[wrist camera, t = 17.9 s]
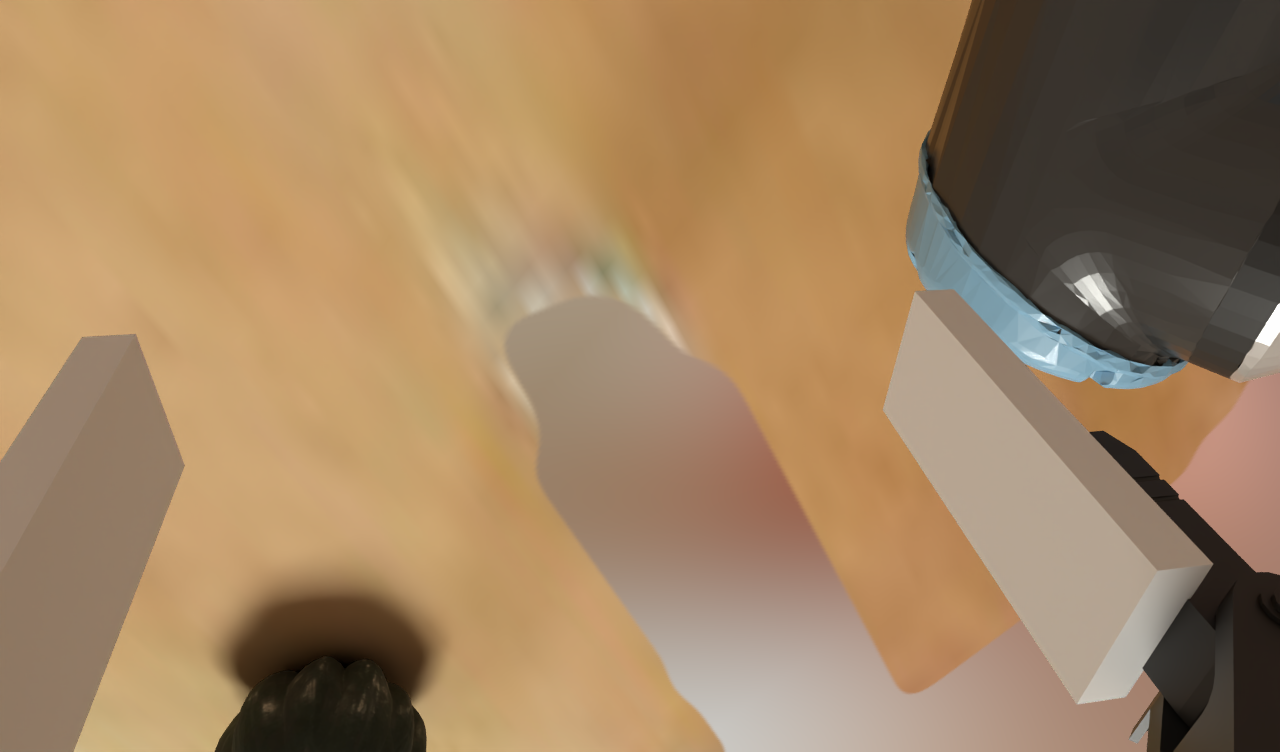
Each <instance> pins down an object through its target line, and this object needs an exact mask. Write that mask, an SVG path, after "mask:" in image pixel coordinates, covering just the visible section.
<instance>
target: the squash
mask: <svg viewBox="0 0 1280 752" xmlns="http://www.w3.org/2000/svg"><path fill="white" fill-rule="evenodd" d="M215 752H426V729H425V725H424V722H423V720H422V718H421V716H420V714H419V713H418V712H417V711H416V709H415V708H414V707H413V706H412V704H411V700H410V697H409V696H408V694H407V692H406V691H405V690H404V689H403V688H401V687H400V686H398V685H396V684H393V683H388V682H387V681H386V678H385V676H384V674H383V672H382V669H381V668H380V667H379V666H378V665H377V664H376V663H375V662H374V661H372V660H369V659H362V660H358V661H355V662H353V663H351V664H350V665H348V666H347V667H346V668H345V669H344V667H343V666H342V664H341V663H340V662H338V661H337V660H336V659H334V658H333V657H327V656H324V657H322V658H320V659H317V660H315V661H313V662H311V663H310V664H308V665H307V666H306V667H304V668H303V669H302V670H301V671H300V672H299V673H298V672H295V671H281V672H278V673H275V674H272V675H270V676H268V677H267V678H265V679H264V680H263V681H261V682H260V683H258V684H257V685H256V686H255V687H254V688H253V690H252V691H251V692H250V693H249V695H248V697H247V698H246V700H245V702H244V704H243V706H242V708H241V711H240V713H239V714H238V715H237V716H236V717H235V718H234V719H233V721H232V722H231V723H230V725H229V726H228V728H227V729H226V730H225V732H224V733H223V735H222V736H221V738H220V740H219V742H218V745H217V747H216V750H215Z"/></svg>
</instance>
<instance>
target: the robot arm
mask: <svg viewBox="0 0 1280 752" xmlns="http://www.w3.org/2000/svg"><path fill="white" fill-rule="evenodd" d="M906 244H907V250H908V254H909V256H910V259H911V261H912V263H913V265H914V267H915V268H916V269H917V271H918V275H919V279H920V281H921V283H922V284H923V286H924V287H925V288H926V290H927V291H915V293H914V297H913V301H912V304H911V308H910V312H909V315H908V319H907V323H906V326H905V330H904V334H903V338H902V341H901V345H900V349H899V352H898V356H897V360H896V363H895V367H894V371H893V374H892V378H891V382H890V385H889V389H888V393H887V396H886V400H885V404H884V407H883V411H884V412H885V414H886V415H887V417H888V418H889V420H890V422H891V423H892V425H893V426H894V428H895V429H896V431H897V432H898V434H899V435H900V437H901V438H902V440H903V441H904V443H905V444H906V446H907V447H908V449H909V450H910V452H911V453H912V455H913V456H914V458H915V459H916V461H917V463H918V464H919V466H920V467H921V469H922V470H923V472H924V473H925V475H926V476H927V478H928V479H929V481H930V482H931V484H932V485H933V487H934V488H935V490H936V491H937V493H938V494H939V496H940V497H941V499H942V501H943V502H944V504H945V505H946V507H947V508H948V510H949V511H950V513H951V514H952V516H953V517H954V519H955V520H956V522H957V523H958V525H959V526H960V528H961V529H962V531H963V532H964V534H965V535H966V537H967V538H968V540H969V542H970V543H971V545H972V546H973V548H974V549H975V551H976V552H977V554H978V555H979V557H980V558H981V560H982V561H983V563H984V564H985V566H986V567H987V569H988V570H989V572H990V573H991V575H992V576H993V578H994V579H995V581H996V583H997V584H998V586H999V587H1000V589H1001V590H1002V592H1003V593H1004V595H1005V596H1006V598H1007V599H1008V601H1009V602H1010V604H1011V605H1012V607H1013V608H1014V610H1015V611H1016V613H1017V614H1018V616H1019V617H1020V619H1021V620H1022V622H1023V623H1024V625H1025V626H1026V628H1027V630H1028V631H1029V633H1030V634H1031V636H1032V637H1033V639H1034V640H1035V642H1036V643H1037V645H1038V646H1039V648H1040V649H1041V651H1042V652H1043V654H1044V655H1045V657H1046V658H1047V660H1048V661H1049V663H1050V664H1051V666H1052V668H1053V669H1054V671H1055V672H1056V674H1057V675H1058V677H1059V678H1060V679H1061V681H1062V682H1063V684H1064V686H1065V687H1066V689H1067V690H1068V692H1069V693H1070V695H1071V696H1072V698H1073V699H1074V701H1075V703H1076V704H1083V703H1090V702H1096V701H1103V700H1110V699H1116V698H1123V697H1126V696H1127V694H1128V693H1129V691H1130V690H1131V688H1132V687H1133V685H1134V684H1135V682H1136V681H1137V679H1138V678H1139V676H1140V674H1141V673H1142V672H1143V670H1144V671H1145V672H1146V673H1147V675H1148V676H1149V677H1150V679H1151V680H1152V682H1153V683H1154V684H1155V686H1156V687H1157V688H1158V689H1159V692H1158V694H1157V695H1156V697H1155V698H1154V699H1153V701H1152V702H1151V704H1150V705H1149V707H1148V708H1147V710H1146V711H1145V712H1144V714H1143V715H1142V717H1141V718H1140V720H1139V721H1138V723H1137V724H1136V725H1135V727H1134V728H1133V731H1132V733H1131V735H1130V738H1129V740H1131V741H1133V742H1135V743H1138V742H1139V740H1140V739H1141V738H1142V736H1143V735H1144V733H1145V732H1146V731H1148V730H1149V731H1148V743H1147V752H1280V575H1277V574H1273V573H1269V572H1257V573H1256V572H1255V571H1254V570H1253V569H1252V568H1251V567H1250V566H1249V565H1248V564H1247V563H1246V562H1245V561H1244V560H1243V559H1242V558H1241V557H1240V556H1239V555H1238V554H1237V553H1236V552H1235V551H1234V550H1233V549H1232V548H1231V547H1230V546H1229V545H1228V544H1227V543H1226V542H1225V541H1224V540H1223V539H1222V538H1221V537H1220V536H1219V535H1218V534H1217V533H1216V532H1215V531H1214V530H1213V529H1212V528H1211V527H1210V526H1209V525H1208V524H1207V523H1206V522H1205V521H1204V520H1203V519H1202V518H1201V517H1200V516H1199V515H1198V513H1197V512H1196V511H1195V510H1194V509H1193V508H1191V507H1190V505H1189V504H1188V503H1187V502H1186V501H1184V500H1180V499H1179V498H1178V495H1179V494H1178V493H1177V492H1176V491H1175V490H1174V489H1173V488H1172V487H1171V486H1170V485H1169V484H1168V483H1167V482H1166V481H1165V480H1160V479H1159V474H1158V473H1157V472H1156V471H1155V470H1154V469H1153V468H1152V467H1151V466H1150V465H1149V464H1148V463H1147V462H1146V461H1145V460H1144V459H1143V458H1142V457H1141V456H1140V455H1139V454H1138V453H1137V452H1136V451H1135V450H1133V449H1132V448H1130V447H1129V446H1127V445H1125V444H1124V443H1122V442H1121V441H1119V440H1117V439H1116V438H1114V437H1113V436H1111V435H1109V434H1108V433H1106V432H1104V431H1096V432H1088V431H1087V430H1086V429H1085V428H1084V426H1083V425H1082V424H1081V423H1080V422H1079V421H1078V420H1077V419H1076V418H1075V417H1074V416H1073V415H1072V414H1071V413H1070V412H1069V411H1068V410H1067V408H1066V407H1065V406H1064V405H1063V404H1062V403H1061V402H1060V401H1059V400H1058V399H1057V398H1056V397H1055V396H1054V395H1053V394H1052V393H1051V392H1050V390H1049V389H1048V388H1047V387H1046V386H1045V385H1044V384H1043V383H1042V382H1041V381H1040V380H1039V379H1038V378H1037V377H1036V376H1035V375H1034V374H1033V372H1032V371H1031V370H1030V369H1029V368H1028V367H1027V366H1026V365H1025V364H1027V365H1029V366H1031V367H1033V368H1036V369H1038V370H1041V371H1043V372H1046V373H1049V374H1052V375H1054V376H1057V377H1061V378H1064V379H1068V380H1071V381H1075V382H1081V381H1084V380H1085V379H1087V378H1088V377H1090V378H1092V379H1093V380H1094V381H1096V382H1097V383H1098V384H1100V385H1101V386H1103V387H1104V388H1116V389H1134V388H1142V387H1146V386H1150V385H1153V384H1156V383H1158V382H1161V381H1163V380H1165V379H1166V378H1167V377H1169V376H1170V375H1171V374H1173V373H1176V372H1178V371H1180V370H1181V369H1183V368H1184V367H1185V366H1186V364H1187V363H1188V362H1190V363H1192V364H1195V365H1197V366H1200V367H1202V368H1205V369H1207V370H1209V371H1212V372H1214V373H1217V374H1219V375H1222V376H1224V377H1227V378H1229V379H1232V380H1234V381H1237V382H1239V383H1240V382H1244V381H1249V380H1253V379H1256V378H1261V377H1265V376H1269V375H1273V374H1277V373H1280V0H972V3H971V6H970V9H969V12H968V16H967V19H966V22H965V25H964V29H963V32H962V35H961V38H960V42H959V45H958V48H957V51H956V55H955V58H954V61H953V64H952V67H951V70H950V73H949V76H948V79H947V82H946V85H945V88H944V91H943V94H942V97H941V100H940V103H939V106H938V110H937V113H936V116H935V119H934V122H933V125H932V128H931V129H930V130H929V131H928V133H927V135H926V137H925V139H924V142H923V143H922V147H921V149H920V153H919V176H918V181H917V185H916V189H915V192H914V196H913V200H912V204H911V207H910V211H909V215H908V219H907V225H906ZM184 466H185V465H184V462H183V460H182V457H181V454H180V452H179V449H178V446H177V444H176V441H175V438H174V436H173V433H172V430H171V428H170V425H169V422H168V419H167V417H166V414H165V411H164V409H163V406H162V403H161V401H160V398H159V395H158V393H157V390H156V387H155V385H154V382H153V379H152V376H151V374H150V371H149V368H148V366H147V363H146V360H145V358H144V355H143V352H142V350H141V347H140V344H139V342H138V339H137V336H136V334H128V335H110V336H92V337H82V338H81V340H80V341H79V343H78V344H77V346H76V347H75V349H74V350H73V352H72V353H71V355H70V356H69V358H68V359H67V361H66V362H65V364H64V365H63V367H62V369H61V370H60V372H59V373H58V375H57V376H56V378H55V379H54V381H53V382H52V384H51V385H50V387H49V388H48V390H47V391H46V393H45V394H44V396H43V398H42V399H41V401H40V402H39V404H38V405H37V407H36V408H35V410H34V411H33V413H32V414H31V416H30V417H29V419H28V420H27V422H26V423H25V425H24V427H23V428H22V430H21V431H20V433H19V434H18V436H17V437H16V439H15V440H14V442H13V443H12V445H11V446H10V448H9V449H8V451H7V452H6V454H5V456H4V457H3V459H2V460H1V462H0V752H73V751H74V749H75V746H76V744H77V741H78V738H79V736H80V733H81V731H82V728H83V726H84V723H85V720H86V718H87V715H88V713H89V710H90V708H91V705H92V702H93V700H94V697H95V695H96V692H97V690H98V687H99V684H100V682H101V679H102V677H103V674H104V672H105V669H106V666H107V664H108V661H109V659H110V656H111V654H112V651H113V648H114V646H115V643H116V641H117V638H118V636H119V633H120V631H121V628H122V625H123V623H124V620H125V618H126V615H127V613H128V610H129V607H130V605H131V602H132V600H133V597H134V595H135V592H136V589H137V587H138V584H139V582H140V579H141V577H142V574H143V571H144V569H145V566H146V564H147V561H148V559H149V556H150V553H151V551H152V548H153V546H154V543H155V541H156V538H157V535H158V533H159V530H160V528H161V525H162V523H163V520H164V517H165V515H166V512H167V510H168V507H169V505H170V502H171V499H172V497H173V494H174V492H175V489H176V487H177V484H178V481H179V479H180V476H181V474H182V471H183V469H184Z"/></svg>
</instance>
